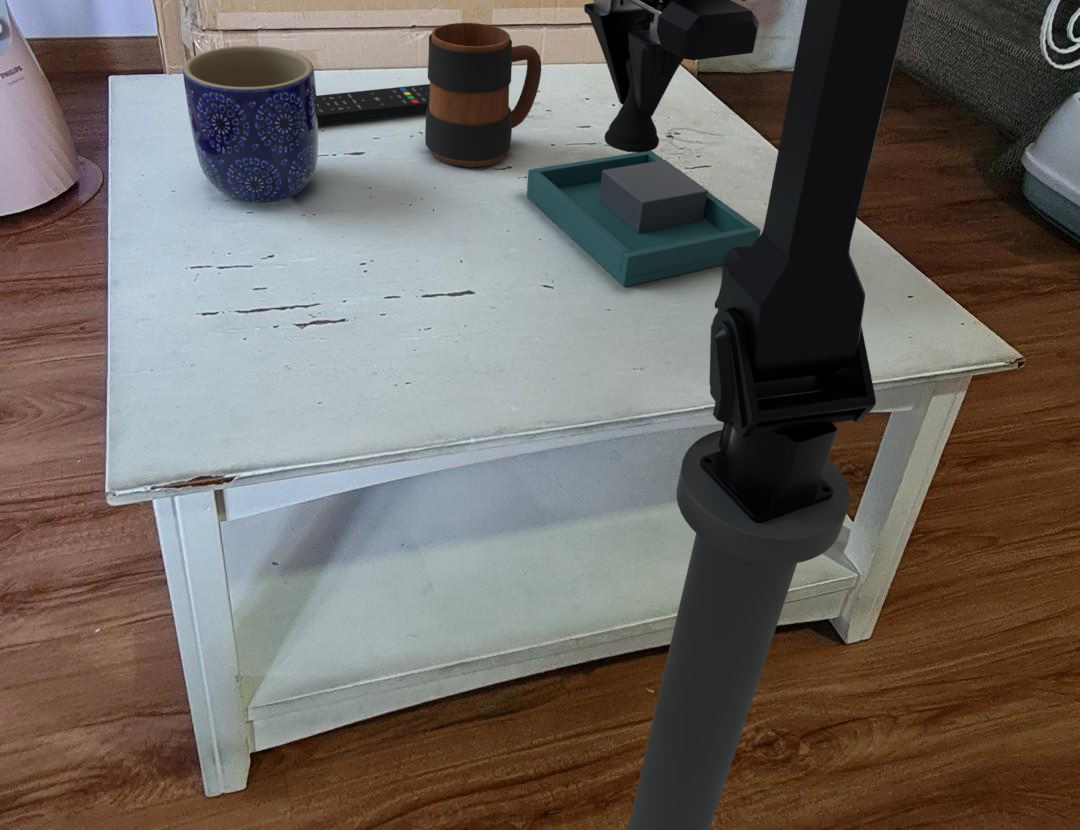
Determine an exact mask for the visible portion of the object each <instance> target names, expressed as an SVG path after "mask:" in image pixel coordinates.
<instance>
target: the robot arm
mask: <svg viewBox="0 0 1080 830" xmlns="http://www.w3.org/2000/svg"><path fill="white" fill-rule="evenodd" d="M741 2H746V0H741ZM805 3H806V4H805V8H804V14H803V19H802V24H801V29H800V34H799V40H798V44H797V50H796V56H795V61H794V67H793V72H792V76H791V77H792V78H791V83H790V87H789V92H788V98H787V103H786V108H785V114H784V120H783V125H782V129H781V135H780V140H779V144H778V145H779V146H778V151H777V156H776V161H775V167H774V172H773V177H772V182H771V188H770V193H769V198H768V204H767V209H766V215H765V220H764V225H763V229H762V231H761V233H760V236H759V238H758V239H757V240H756V241H755V242H754V243H753V245H752V246H746V247H735V248H731V249H730V250H729V251H728V253H727V255H726V257H725V259H724V261H723V265H722V269H721V281H720V287H719V291H718V295H717V297H716V300H715V301H714V309H717V311H716V313H715V315H714V317H713V320H712V323H711V324H710V347H709V348H710V349H709V350H710V351H709V393H710V396H711V397H712V399H713V401H714V407H713V412H712V416H713V417H714V419H716V421H718V422H721V423H723V424H722V428H721V430H722V433H721V437H720V442H719V448H720V449H721V450H720V451H719V452H716V453H713V454H710V455H706V456H703V457H702V458H701V461H700V466H701V468H702V469H703V470H704V471H705V472H706V473H707V474H708V475H709V476H710V477H711V478H712V479H713V480H714V481H715V482H716V483H717V484H718V485H719V487H720V488H721V489H722V490H723V491H724V492H725V493H726V494H727V495H728V496H729V497H730V498H731V499H732V500H733V501H734V502H735V503H736V504H737V505H738V506H739V508H740V509H741V510H742V511H743V512H744V513H745V514H746V515H747V516H748V517H749V518H750V519H751V520H752V521H753V522H755V523H764V522H767V521H770V520H772V519H775V518H778V517H781V516H783V515H786V514H789V513H792V512H795V511H797V510H800V509H803V508H806V507H808V506H811V505H814V504H817V503H819V502H822V501H825V500H828V499H830V498H831V497H832V495H833V492H834V490H833V488H832V487H831V486H830V485H829V484H828V483H826V482H825V481H824V480H823V479H822V475H823V472H824V469H825V466H826V463H827V460H828V458H829V456H830V454H831V450H832V447H833V444H834V441H835V438H836V435H837V431H838V427H837V426H836V425H835V424H838V423H843V422H850V421H853V422H862V421H864V420H865V419H866V417H867V416H869V414H870V412H871V411H872V410H873V409H874V408H875V406H876V405H877V399H876V393H875V388H874V383H873V378H872V373H871V368H870V363H869V357H868V353H867V347H866V342H865V337H864V332H863V326H862V323H863V316H864V309H865V301H866V292H865V289H864V286H863V284H862V282H861V279H860V277H859V276H860V275H859V274H858V271H857V269H856V266H855V264H854V262H853V258H852V256H851V254H850V253H851V252H850V250H851V249H850V247H851V242H852V238H853V233H854V230H855V225H856V222H857V217H858V214H859V209H860V205H861V201H862V196H863V193H864V189H865V185H866V180H867V176H868V174H869V173H868V172H869V168H870V164H871V161H872V156H873V152H874V148H875V144H876V139H877V135H878V131H879V127H880V124H881V119H882V115H883V111H884V106H885V103H886V98H887V96H888V95H887V94H888V92H889V91H888V90H889V86H890V82H891V78H892V74H893V70H894V65H895V62H896V58H897V54H898V49H899V45H900V42H901V38H902V34H903V29H904V25H905V21H906V18H907V17H906V16H907V14H908V13H907V12H908V8H909V4H910V0H806V2H805ZM583 10H584V13H585V14H587V15H588V17H589V20H590V21H591V25H592V28H593V30H594V32H595V35H596V38H597V40H598V43H599V46H600V48H601V51H602V54H603V57H604V60H605V63H606V66H607V69H608V71H609V75H610V78H611V81H612V84H613V86H614V87H613V88H614V90H615V93H616V96H617V99H618V102H619V104H621V105H622V106H623V104H624V103H625V101H626V99H627V96H628V93H629V88H630V79H629V75H628V71H627V68H626V62H627V61H628V60H629V59H630V54H631V62H632V71H633V80H634V89H635V98H636V104H637V109H638V115H639V116H640V117H641V118H647V117H652V116H654V114H655V112H656V110H657V108H658V106H659V104H660V102H661V100H662V98H663V97H664V94H665V93H666V91H667V89H668V87H669V85H670V83H671V81H672V79H673V77H674V76H675V74H676V72H677V71H678V68H679V67H680V66H681V64H682V62H683V61H684V60H690V61H699V60H708V59H715V58H723V57H732V56H741V55H748V54H753V53H754V50H755V46H756V42H757V41H756V40H757V37H758V31H759V26H760V22H759V20H758V18H757V17H756V15H755V14H754V11H752V10H751V9H750V8H748V7H745V6H744V5H742V4H739V3H737V2H736V1H733V0H593V1H592V2H590V3H585V4H584V6H583ZM646 14H649V15H650V18H651V19H652V20H654V22H651V23H650V28H649V30H645V31H643V30H642V26H641V25H639V24H637V23H636V20H637V19H641V18H643V17H644V16H645V15H646ZM628 45H630V53H629V50H628ZM757 515H759V516H757Z"/></svg>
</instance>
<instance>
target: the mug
mask: <svg viewBox="0 0 1080 830" xmlns="http://www.w3.org/2000/svg"><path fill="white" fill-rule="evenodd" d="M521 61H526V73H525V77H524V82H523V86H522V88H521V89H522V90H521V92H520V95H519V98H518V100H517V102H516V104H515V106H514V108H513V109H511V107H510V85H511V83H512V70H513V69H512V68H513V63H517V62H521ZM541 78H542V59H541V55H540V53H539V52H538V50H537V49H535V47H533V46H531V45H527V44H521V45H516V46H513V41H512V38H511V35H510V33H509V32H507V31H506V30H505V29H502V28H500V27H498V26H494V25H490V24H485V23H478V22H454V23H448V24H442V25H439V26H437V27H436V28H434V29H433V30H432V32H431V33H430V35H429V36H428V59H427V79H428V81H429V84H430V99H429V103H428V105H427V110H425V111H426V113H425V125H424V127H425V131H424V140H425V141H424V142H425V146H426V147H427V149H428V150H429V152H430V154H431V155H432V156H433V157H434V158H435V159H436V160H437V161H440V162H442V163H444V164H446V165H447V164H448V165H451V166H455V167H462V168H481V167H487V166H492V165H495V164H496V163H499V162H500V161H502V160H503V159H504V157H505V156H506V155H507V153H508V152H509V151H510V150H511V146H512V145H511V144H512V135H513V134H512V132H513V129H514V128H516V127H518V126H520V125H521V124H522V123H523V122H524V121H525V120H526V118H527V117H528V115H529V113H530V112H531V110H532V107H533V105H534V102H535V100H536V97H537V94H538V91H539V90H538V89H539V86H540V83H541Z"/></svg>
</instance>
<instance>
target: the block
mask: <svg viewBox="0 0 1080 830" xmlns="http://www.w3.org/2000/svg"><path fill="white" fill-rule="evenodd" d="M708 192H709V190H708V189H707V188H705V187H704V186H702V185H701V184H699V182H697V181H695V180H694V179H693V178H692V177H690V176H689V175H687V174H686V173H684V172H683V171H681V170H680V169H679V168H678V167H676V166H674V165H673V164H672V163H671V162H669V161H667V160H666V159H663V160H662V161H656V162H650V163H643V164H637V165H631V166H625V167H619V168H613V169H607V170H602V177H601V185H600V194H599V200H600V201H601V202H602V203H603V204H604V205H605V206H607V207H608V208H609V209H610V210H611V211H613V212H614V213H615V214H616V215H617V216H619V217H620V218H621V219H622V220H623V221H625V222H626V223H627V224H628V225H629V226H631V227H632V228H633V229H634V230H635V231H637V232H638V233H642V232H647V231H652V230H657V229H662V228H668V227H673V226H678V225H683V224H688V223H693V222H698V221H702V220H703V216H704V211H705V205H706V200H707V195H708Z"/></svg>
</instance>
